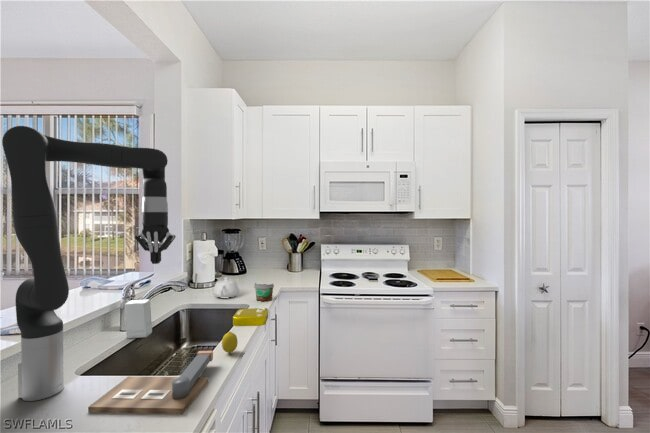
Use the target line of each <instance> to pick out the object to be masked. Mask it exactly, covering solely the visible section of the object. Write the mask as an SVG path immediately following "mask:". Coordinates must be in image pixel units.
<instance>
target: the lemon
mask: <svg viewBox="0 0 650 433" xmlns="http://www.w3.org/2000/svg"><path fill="white" fill-rule="evenodd" d="M238 342H239V341H238V337H237V335H236V334H235V333H234V332H233V331H232V332H231V331H228V332H227V333H225V334H224V335H223V337H222V340H221V348H222V350H223V351H224V352H225V353H228V354H232V353H233V352H235V351H236V349H237V347H238Z"/></svg>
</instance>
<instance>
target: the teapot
mask: <svg viewBox="0 0 650 433" xmlns="http://www.w3.org/2000/svg"><path fill="white" fill-rule="evenodd" d="M239 292H240V288H239V286H238V284H237V281H236V280H234V279H232V277H229V276H226V277H223V279H221V280H217V281H216V283H215V285H214V286H213V290H212V294H213V296H215V297H216V298H217V297H233V296H235V297H236V296H238V294H239ZM233 298H234V297H233Z"/></svg>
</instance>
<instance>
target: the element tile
mask: <svg viewBox="0 0 650 433" xmlns="http://www.w3.org/2000/svg"><path fill="white" fill-rule="evenodd" d="M268 319H269V309H268V308H267V307H259V308H256V307H255V308H253V307H252V308H240V309H238V310H237V311H236V312H235V314H234V315H233V316H232V326H233V327H249V326H250V327H253V326H254V327H255V326H256V327H258V326H265V325H266V324H267V322H268Z"/></svg>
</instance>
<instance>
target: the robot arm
mask: <svg viewBox="0 0 650 433" xmlns="http://www.w3.org/2000/svg"><path fill="white" fill-rule="evenodd" d="M2 149H3V152H4V156H5V159H6V163H7V166H8V171H9V175H10V185H11V203H12V204H11V206H12V217H13V218H12V219H13V226H14V232H15V236H16V238H17V240H18V243H19V244H20V245H21V247H22V248H23V250H24V252H25V253H26V255H27V257H28V259H29V260H30V262H31V266H32V272H33V277H29V278H27V279H25V280H24V281H23V282H22V283H20V285H19V286H18V288H17V289H16V293H15V313H16V324H17V325H16V326H17V327H18V329H19V331H20V346H21V347H20V348H21V349H20V350H21V351H20V354H21V355H20V356H21V357H20V358H21V361H20V362H19V363H18V364H17V387H18V388H17V391H18V393H17V394H18V396H17V397H18V399H20V398H21V399H22V400H23V401H26V402H33V401H39V400H45V399H47V398H50V397H52V396H55V395H57V394H59V393H60V392H61V391H63V389H64V388H65V377H64V376H65V373H64V372H65V371H64V370H65V367H64V365H65V362H64V358H65V357H64V322H63V320H62V318H60V317H59V316H58V315H57V314H56V312H55V311H56V310H58V309H60V308H61V307H63V306H64V305H65V303H66V302H67V300H68V298H69V294H70V293H69V292H70V289H69V288H70V287H69V282H68V278H67V274H66V271H65V266H64V263H63V257H62V247H61V242H60V235H59V233H60V232H59V224H58V223H59V222H58V214H57V208H56V205H55V201H54V196H53V194H52V192H51V189H50V186H49V183H48V179H47V170H46V169H47V168H46V167H47V166H46V163H47V162H67V163H78V164H85V165H92V166H99V167H106V168H107V167H108V168H117V169H125V170H126V169H141V171H142V179H143V181H142V182H143V183H142V204H141V205H142V206H141V212H142V213H141V217H142V219H141V220H142V221H141V222H142V229H141V233H139V234H138V235H135V237H134V239H135V240H136V241H137V243H138V244H139V245H140V246H141V248H142V249H143V250H144V251H145V252H146V251H147V252H149V254H150V255H149V256H150V263H151V264H152V265H158V264H160V263H161V261H162V252H163V251H165V250H168V248H169V247H170V245H171V244H172V243H173V242H174V240H175V239H176V235H175V234H173V233H171V232H170V229H169V227H168V225H169V207H168V205H169V203H168V191H167V190H168V188H167V183H166V167H167V165H168V161H169V160H168V157H167V155H166V153H165V152H163V151H162V150H161V149H156V148H150V147H130V146H125V145H119V144H118V145H117V144H112V143H103V142H102V143H101V142H82V141H73V140H67V139H66V140H65V139H61V138H58V137H53V136H49V135H45V134H43V133H41V132H40V131H38V130H37V129H35V128H33V127H30V126H26V125H25V126H24V125H16V126H12V127H11V128H9V129H8V130H6V131H5V133H4V134H3V137H2Z"/></svg>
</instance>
